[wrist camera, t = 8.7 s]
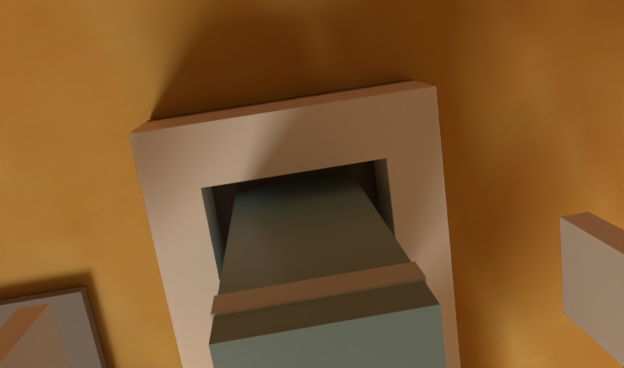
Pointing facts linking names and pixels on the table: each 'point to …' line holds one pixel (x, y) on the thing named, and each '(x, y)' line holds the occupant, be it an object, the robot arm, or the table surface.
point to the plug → (320, 285)
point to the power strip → (285, 169)
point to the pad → (66, 324)
